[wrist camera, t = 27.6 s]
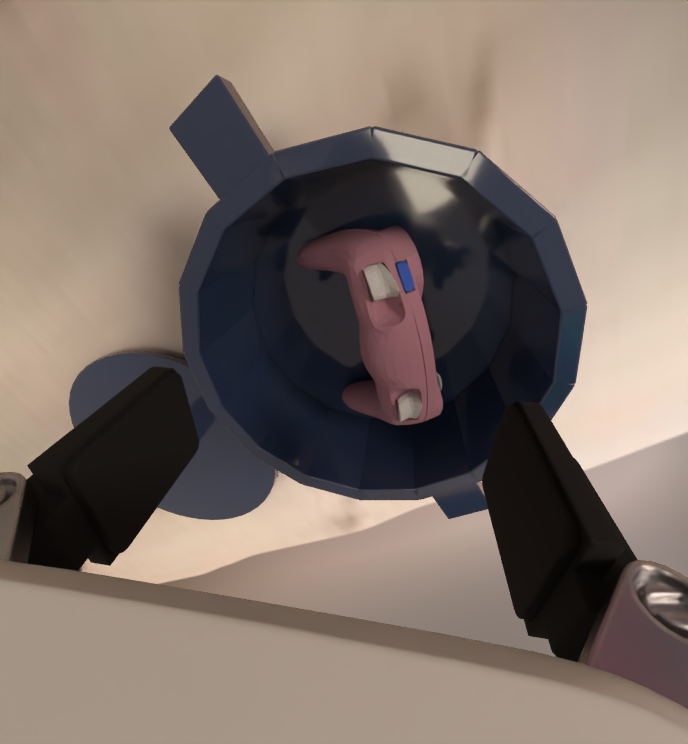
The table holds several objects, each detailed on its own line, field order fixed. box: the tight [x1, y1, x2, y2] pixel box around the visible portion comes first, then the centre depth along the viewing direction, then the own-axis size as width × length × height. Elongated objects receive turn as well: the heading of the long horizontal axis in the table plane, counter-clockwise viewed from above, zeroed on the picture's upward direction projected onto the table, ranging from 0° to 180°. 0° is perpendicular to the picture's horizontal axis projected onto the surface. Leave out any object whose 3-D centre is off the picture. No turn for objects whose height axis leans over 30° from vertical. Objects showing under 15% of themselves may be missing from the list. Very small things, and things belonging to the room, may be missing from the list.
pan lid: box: [69, 351, 277, 520], centre depth 24 cm, size 17×17×7 cm
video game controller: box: [297, 226, 443, 425], centre depth 16 cm, size 10×5×7 cm, turn 16°
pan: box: [169, 75, 587, 519], centre depth 16 cm, size 16×21×7 cm
